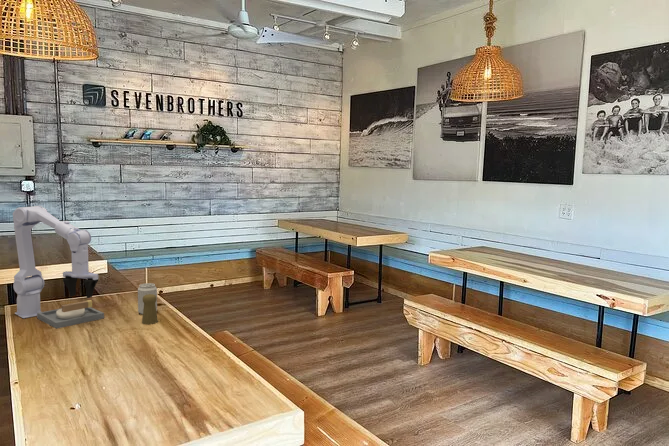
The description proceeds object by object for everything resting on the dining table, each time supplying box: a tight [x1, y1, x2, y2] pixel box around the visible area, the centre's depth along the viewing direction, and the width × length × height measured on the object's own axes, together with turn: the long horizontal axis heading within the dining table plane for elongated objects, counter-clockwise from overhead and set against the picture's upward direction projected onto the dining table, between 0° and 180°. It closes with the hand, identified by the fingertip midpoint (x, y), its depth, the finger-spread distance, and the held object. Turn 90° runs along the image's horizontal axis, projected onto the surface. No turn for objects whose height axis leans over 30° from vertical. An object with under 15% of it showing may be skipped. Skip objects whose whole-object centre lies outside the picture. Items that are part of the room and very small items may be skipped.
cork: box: [141, 294, 159, 325], centre depth 197 cm, size 6×6×11 cm
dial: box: [56, 299, 93, 319], centre depth 200 cm, size 10×13×4 cm
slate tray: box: [36, 307, 105, 329], centre depth 199 cm, size 18×18×2 cm
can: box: [137, 282, 158, 315], centre depth 209 cm, size 8×8×12 cm
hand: (81, 296), depth 194 cm, fingers open, 7 cm apart
